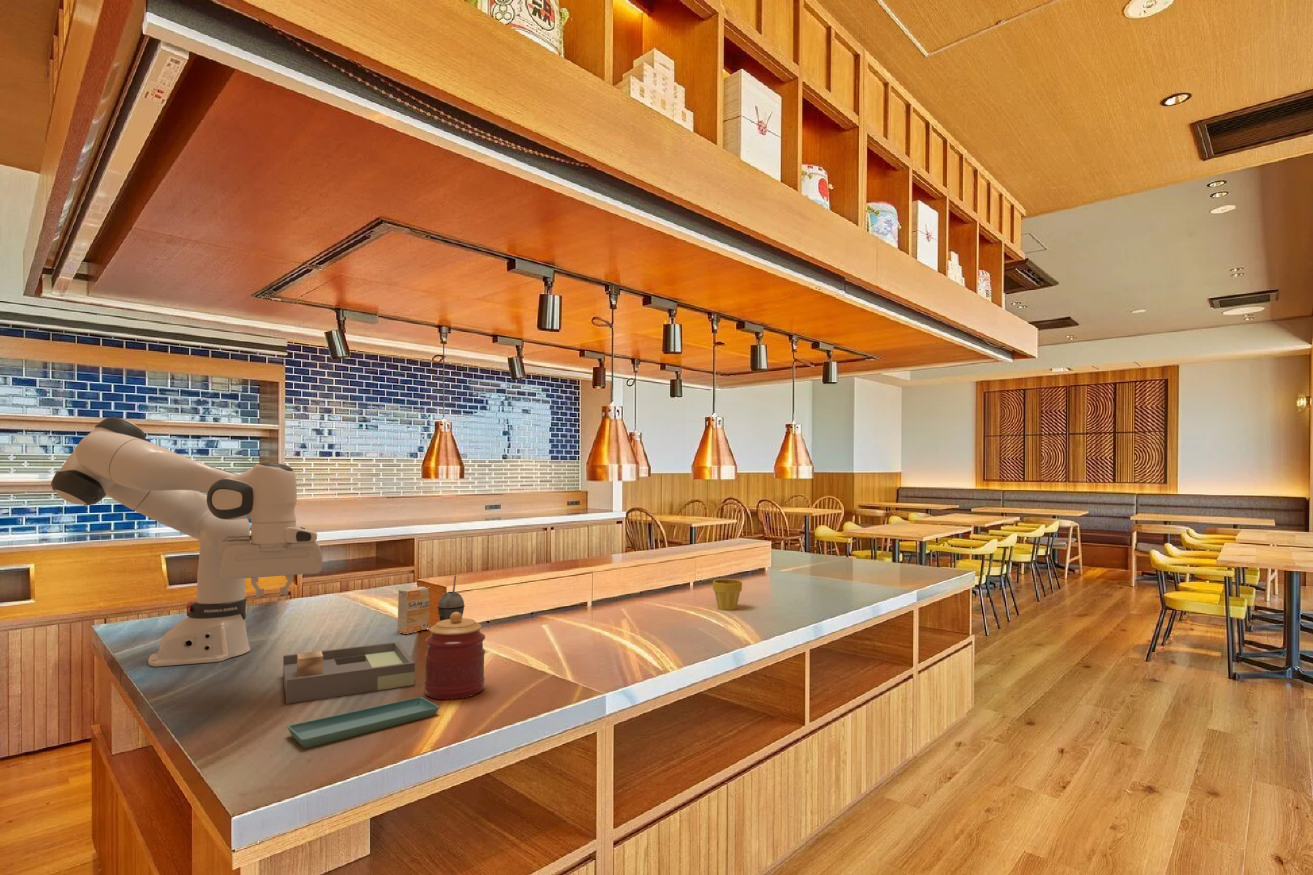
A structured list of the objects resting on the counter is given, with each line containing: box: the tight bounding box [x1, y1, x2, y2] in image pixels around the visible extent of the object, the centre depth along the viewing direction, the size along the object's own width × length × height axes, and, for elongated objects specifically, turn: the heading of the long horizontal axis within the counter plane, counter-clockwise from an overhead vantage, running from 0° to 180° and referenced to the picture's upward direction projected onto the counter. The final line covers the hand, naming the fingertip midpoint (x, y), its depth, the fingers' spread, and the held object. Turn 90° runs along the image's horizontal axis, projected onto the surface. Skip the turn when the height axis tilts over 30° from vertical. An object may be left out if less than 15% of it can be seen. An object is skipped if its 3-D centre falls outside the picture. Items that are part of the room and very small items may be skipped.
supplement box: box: [397, 586, 430, 634], centre depth 210 cm, size 8×5×13 cm, turn 143°
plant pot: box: [712, 578, 743, 611], centre depth 246 cm, size 10×10×10 cm
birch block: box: [296, 650, 323, 677], centre depth 158 cm, size 5×5×4 cm
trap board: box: [282, 641, 416, 705], centre depth 162 cm, size 26×22×5 cm
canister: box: [424, 612, 486, 701], centre depth 155 cm, size 13×13×18 cm
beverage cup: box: [437, 574, 465, 621], centre depth 191 cm, size 7×7×20 cm
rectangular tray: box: [286, 696, 440, 749], centre depth 134 cm, size 26×9×2 cm, turn 134°
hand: (271, 596), depth 154 cm, fingers open, 3 cm apart
